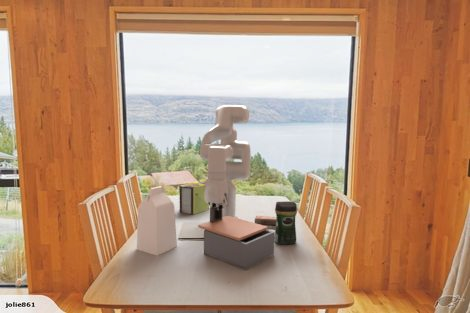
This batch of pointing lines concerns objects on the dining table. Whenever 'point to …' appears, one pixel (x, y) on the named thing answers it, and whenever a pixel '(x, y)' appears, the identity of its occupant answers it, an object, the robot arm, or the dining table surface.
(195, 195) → the protein box
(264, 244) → the carton
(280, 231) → the coffee jar
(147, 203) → the milk
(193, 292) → the dining table surface
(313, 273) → the dining table surface
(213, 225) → the lid
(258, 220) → the packaged product
